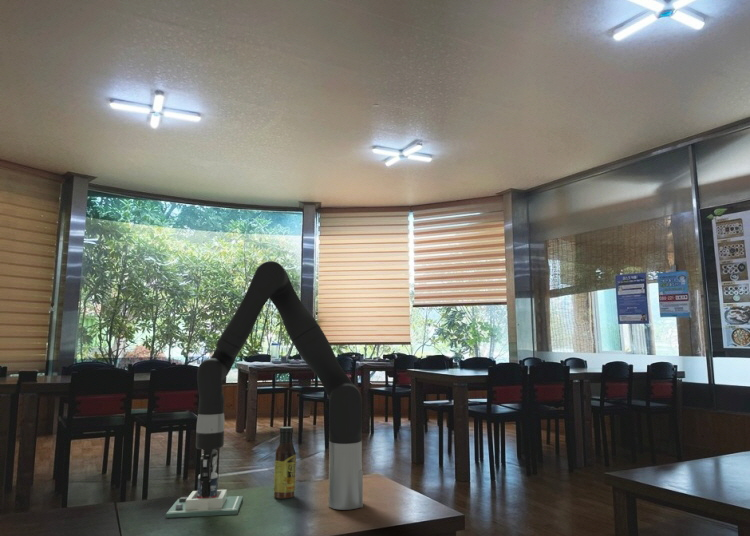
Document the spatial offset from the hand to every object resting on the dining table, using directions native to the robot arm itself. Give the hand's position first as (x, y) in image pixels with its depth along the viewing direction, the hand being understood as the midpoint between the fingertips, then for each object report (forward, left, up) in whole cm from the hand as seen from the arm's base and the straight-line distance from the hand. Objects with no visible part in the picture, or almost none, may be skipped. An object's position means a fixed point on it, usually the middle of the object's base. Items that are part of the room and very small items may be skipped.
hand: (207, 493), depth 140 cm
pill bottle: (0, 0, -2) cm, 2 cm away
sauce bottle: (-21, -8, -4) cm, 23 cm away
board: (0, 0, -4) cm, 4 cm away
